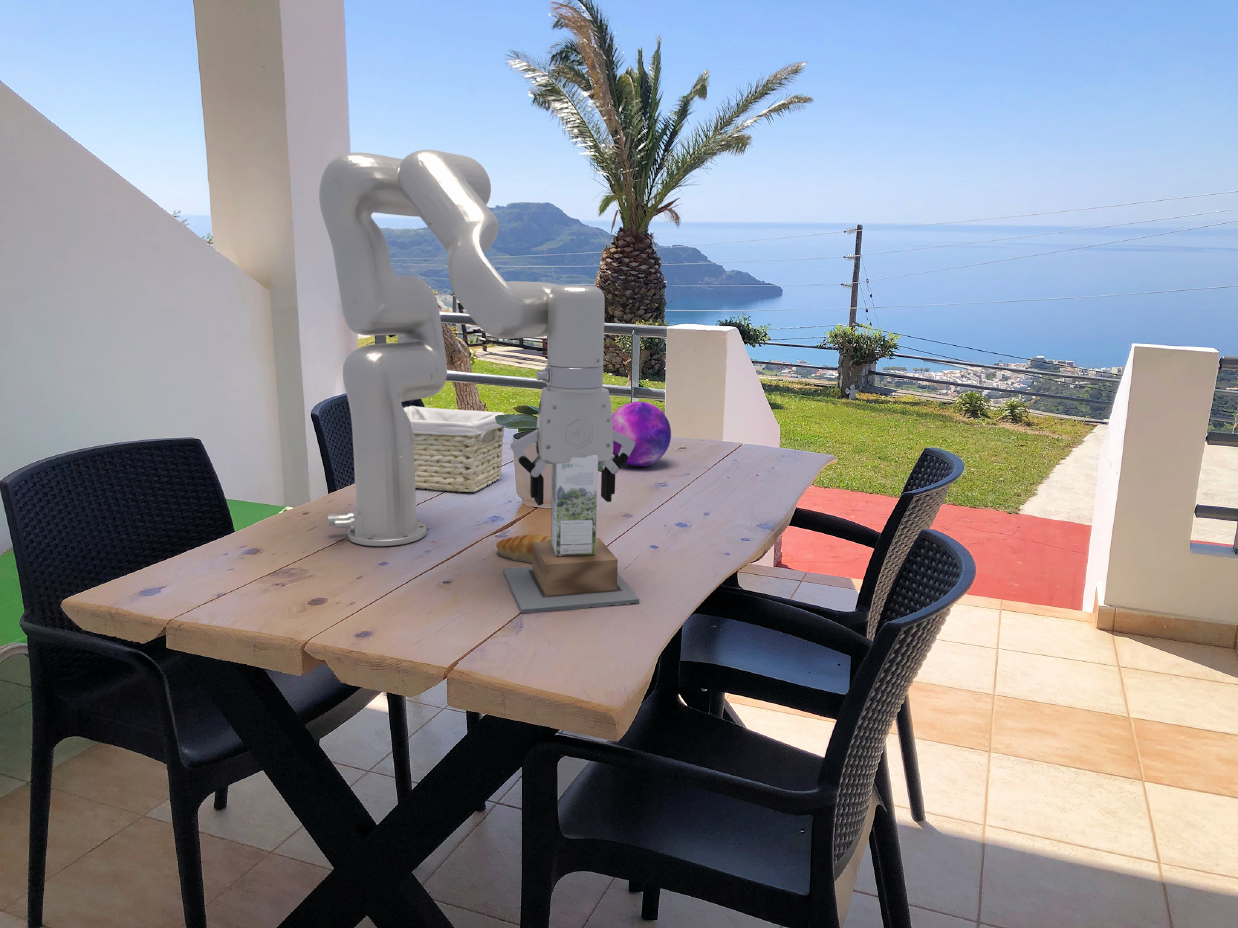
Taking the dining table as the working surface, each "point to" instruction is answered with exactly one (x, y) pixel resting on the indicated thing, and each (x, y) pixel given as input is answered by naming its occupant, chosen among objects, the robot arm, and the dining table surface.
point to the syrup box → (574, 506)
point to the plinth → (573, 571)
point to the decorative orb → (642, 432)
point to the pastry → (520, 546)
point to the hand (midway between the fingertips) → (572, 501)
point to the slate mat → (533, 601)
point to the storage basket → (455, 448)
